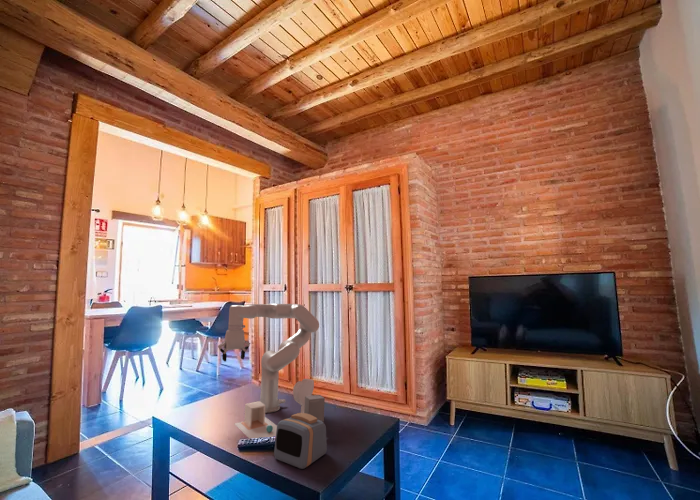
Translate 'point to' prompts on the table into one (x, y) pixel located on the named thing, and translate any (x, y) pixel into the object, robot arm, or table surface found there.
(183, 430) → the table surface
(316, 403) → the skincare box
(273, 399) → the robot arm
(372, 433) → the table surface
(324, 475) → the table surface
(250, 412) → the cream rectangular block
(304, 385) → the heart sculpture
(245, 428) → the mat
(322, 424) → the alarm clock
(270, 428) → the marble
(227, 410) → the table surface
